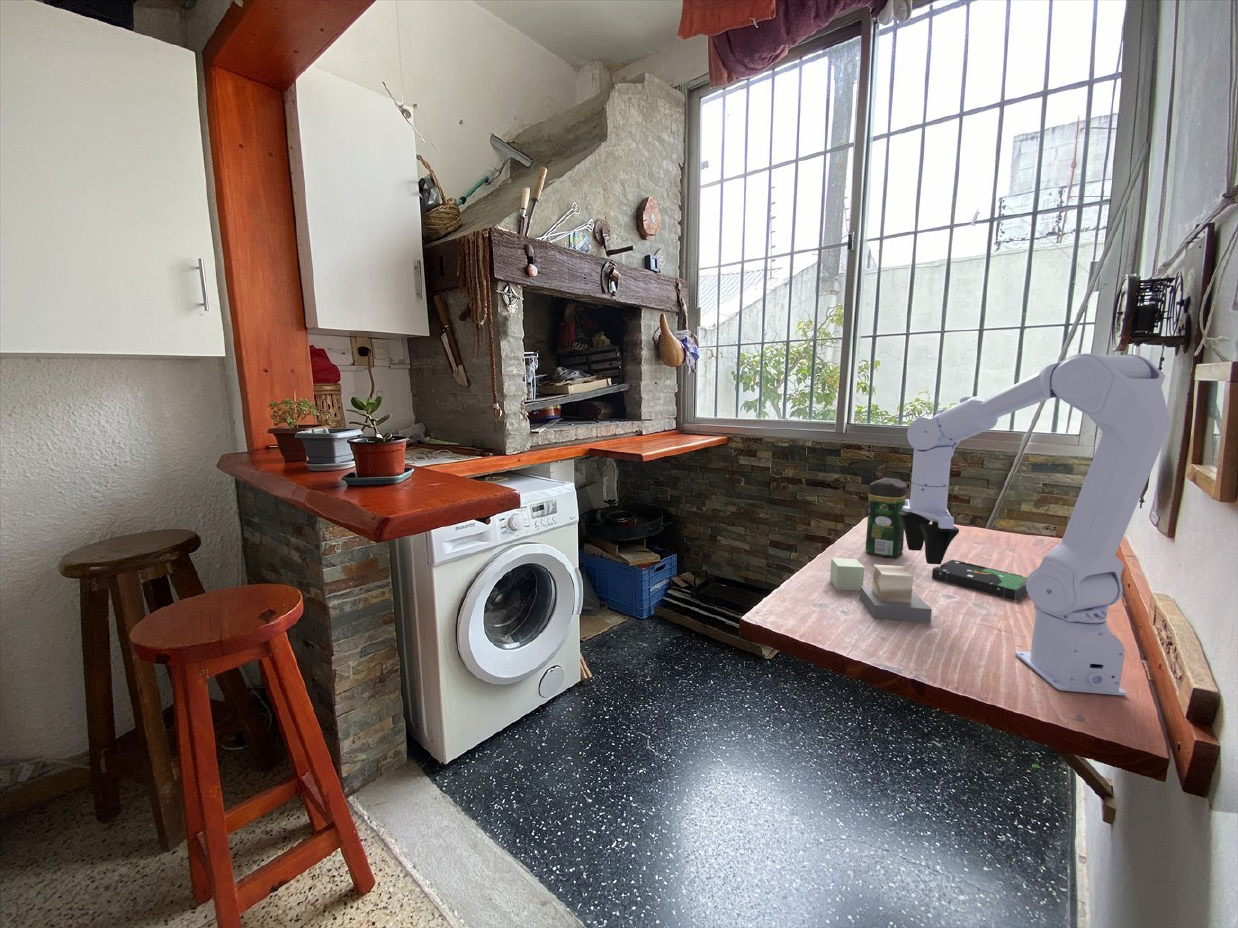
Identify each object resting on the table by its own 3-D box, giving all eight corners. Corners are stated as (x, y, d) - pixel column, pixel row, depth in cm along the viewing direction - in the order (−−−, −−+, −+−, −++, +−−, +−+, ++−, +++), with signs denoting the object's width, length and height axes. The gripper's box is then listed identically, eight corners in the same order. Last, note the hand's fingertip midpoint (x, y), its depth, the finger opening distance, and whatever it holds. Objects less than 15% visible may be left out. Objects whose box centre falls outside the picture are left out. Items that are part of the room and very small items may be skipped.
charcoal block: (930, 625, 84) (931, 609, 84) (874, 621, 86) (875, 605, 86) (909, 603, 93) (911, 588, 93) (859, 600, 95) (860, 585, 94)
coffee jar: (871, 544, 128) (876, 474, 125) (905, 550, 123) (911, 477, 120) (860, 553, 121) (865, 479, 118) (896, 560, 116) (902, 483, 113)
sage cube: (862, 591, 98) (864, 567, 97) (836, 589, 99) (837, 566, 98) (855, 581, 103) (856, 558, 102) (830, 580, 104) (831, 557, 103)
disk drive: (930, 581, 104) (1016, 603, 92) (931, 568, 104) (1018, 589, 92) (950, 570, 110) (1033, 590, 99) (951, 558, 110) (1035, 577, 98)
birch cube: (911, 603, 86) (913, 576, 86) (880, 600, 87) (882, 574, 87) (900, 591, 91) (903, 566, 90) (872, 589, 92) (873, 564, 91)
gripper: (890, 477, 96) (885, 543, 98) (924, 491, 82) (917, 569, 84) (929, 477, 95) (923, 545, 97) (970, 492, 81) (963, 571, 82)
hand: (923, 556), depth 90 cm, fingers open, 7 cm apart
